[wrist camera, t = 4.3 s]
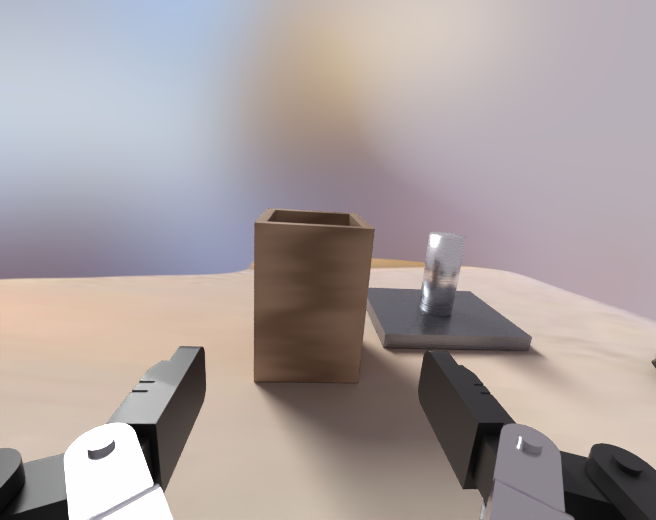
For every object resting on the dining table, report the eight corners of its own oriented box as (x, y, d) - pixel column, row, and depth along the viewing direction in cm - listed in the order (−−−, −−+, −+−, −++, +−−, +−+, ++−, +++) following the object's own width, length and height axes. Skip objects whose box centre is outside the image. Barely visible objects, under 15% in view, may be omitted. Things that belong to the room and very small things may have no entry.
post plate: (383, 347, 25) (396, 245, 23) (361, 297, 34) (369, 222, 32) (528, 350, 26) (554, 252, 24) (467, 301, 35) (482, 228, 33)
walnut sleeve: (253, 381, 20) (254, 222, 17) (266, 330, 26) (268, 208, 24) (358, 382, 20) (374, 228, 18) (345, 332, 27) (356, 213, 24)
